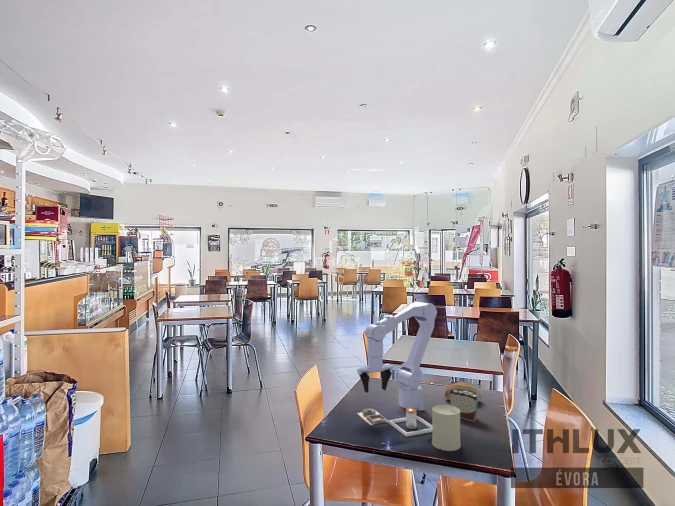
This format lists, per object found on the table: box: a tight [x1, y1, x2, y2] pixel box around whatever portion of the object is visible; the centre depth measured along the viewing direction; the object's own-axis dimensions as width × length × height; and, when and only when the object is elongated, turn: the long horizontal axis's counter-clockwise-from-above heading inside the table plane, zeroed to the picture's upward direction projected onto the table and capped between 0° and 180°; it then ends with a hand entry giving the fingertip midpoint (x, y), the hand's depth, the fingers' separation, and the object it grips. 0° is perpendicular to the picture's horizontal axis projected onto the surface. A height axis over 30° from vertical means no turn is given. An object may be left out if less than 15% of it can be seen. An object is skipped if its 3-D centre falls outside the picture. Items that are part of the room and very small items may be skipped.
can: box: [431, 404, 462, 452], centre depth 134 cm, size 9×9×12 cm
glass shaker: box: [405, 408, 418, 430], centre depth 144 cm, size 4×4×7 cm
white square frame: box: [388, 415, 432, 437], centre depth 144 cm, size 12×12×2 cm
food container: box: [448, 388, 481, 423], centre depth 158 cm, size 12×6×10 cm, turn 47°
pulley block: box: [356, 408, 390, 426], centre depth 153 cm, size 8×12×3 cm, turn 21°
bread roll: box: [444, 380, 482, 401], centre depth 175 cm, size 10×15×8 cm, turn 80°
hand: (375, 390), depth 158 cm, fingers open, 7 cm apart
